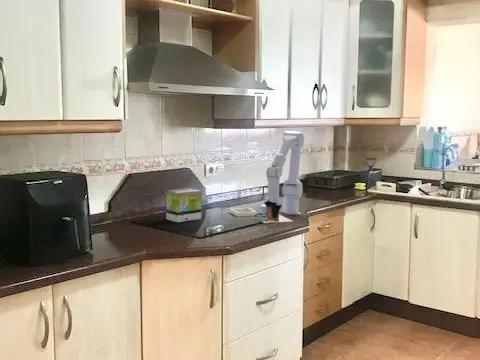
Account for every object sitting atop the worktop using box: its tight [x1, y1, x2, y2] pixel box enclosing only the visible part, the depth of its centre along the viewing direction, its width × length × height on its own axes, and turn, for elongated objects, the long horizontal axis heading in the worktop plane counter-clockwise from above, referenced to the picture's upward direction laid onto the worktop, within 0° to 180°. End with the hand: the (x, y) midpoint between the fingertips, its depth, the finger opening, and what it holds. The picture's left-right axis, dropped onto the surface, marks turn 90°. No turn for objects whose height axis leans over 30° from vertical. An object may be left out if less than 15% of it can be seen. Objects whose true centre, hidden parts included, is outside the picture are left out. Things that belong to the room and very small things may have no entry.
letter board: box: [262, 214, 293, 224], centre depth 287 cm, size 16×16×1 cm
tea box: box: [165, 187, 203, 223], centre depth 281 cm, size 15×10×15 cm
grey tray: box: [229, 207, 258, 218], centre depth 297 cm, size 11×11×2 cm
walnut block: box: [265, 206, 280, 220], centre depth 287 cm, size 5×5×6 cm
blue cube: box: [258, 204, 266, 216], centre depth 300 cm, size 5×5×5 cm
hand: (272, 216), depth 287 cm, fingers closed on walnut block, 5 cm apart
